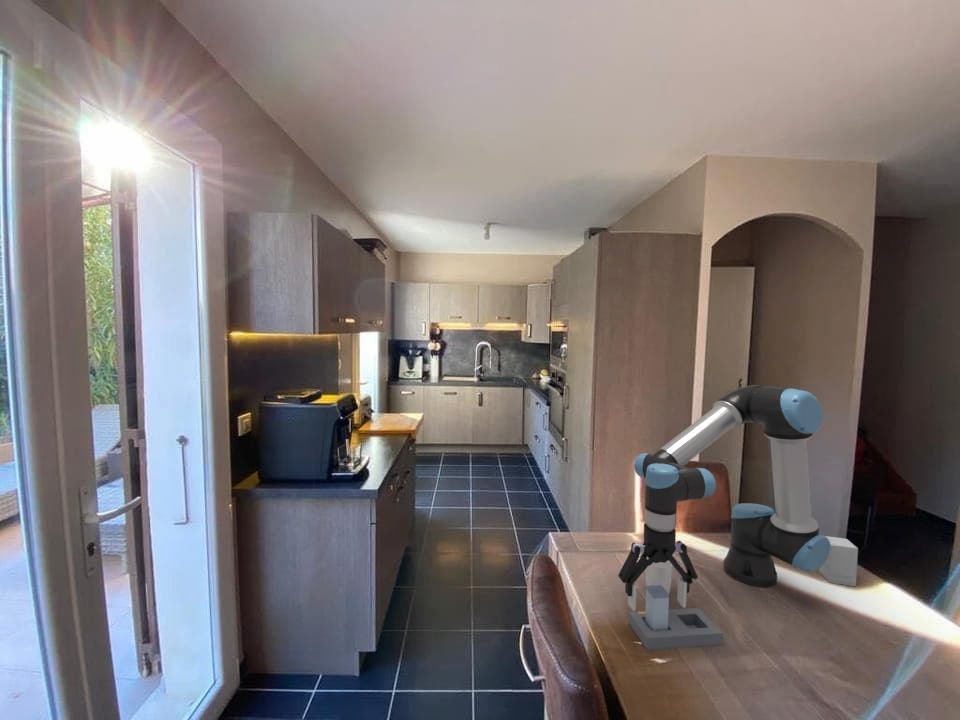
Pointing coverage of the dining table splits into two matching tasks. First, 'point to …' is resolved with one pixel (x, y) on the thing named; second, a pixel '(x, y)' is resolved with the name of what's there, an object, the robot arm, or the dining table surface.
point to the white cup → (659, 574)
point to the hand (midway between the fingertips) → (656, 605)
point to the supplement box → (841, 562)
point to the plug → (656, 608)
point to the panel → (677, 630)
